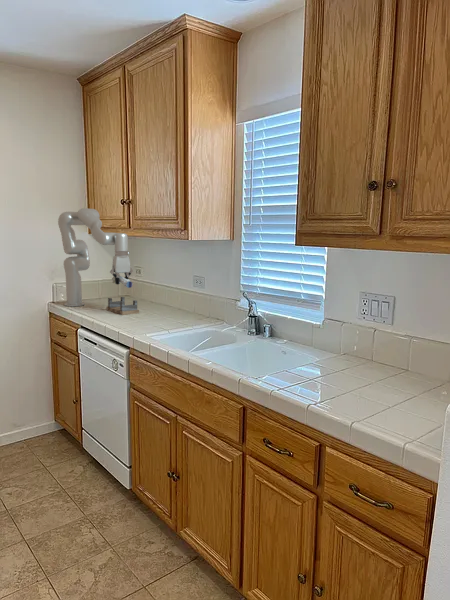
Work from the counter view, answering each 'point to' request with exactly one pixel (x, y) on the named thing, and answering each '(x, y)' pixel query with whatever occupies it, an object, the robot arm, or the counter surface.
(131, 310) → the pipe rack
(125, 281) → the white elongated piece
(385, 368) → the counter surface
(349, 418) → the counter surface
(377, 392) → the counter surface
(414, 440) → the counter surface
